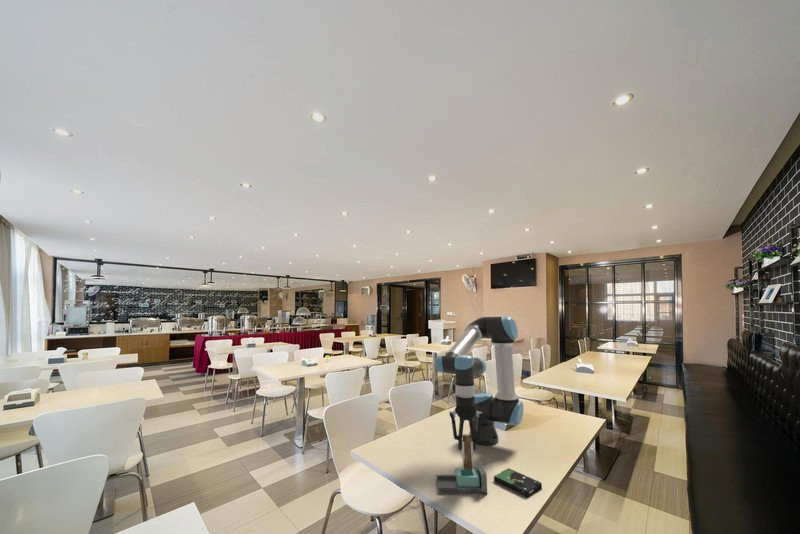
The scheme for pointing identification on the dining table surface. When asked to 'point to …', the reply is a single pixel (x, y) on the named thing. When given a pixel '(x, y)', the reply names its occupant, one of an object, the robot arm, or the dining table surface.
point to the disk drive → (518, 482)
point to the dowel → (467, 453)
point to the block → (467, 478)
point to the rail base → (449, 486)
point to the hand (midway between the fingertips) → (467, 458)
